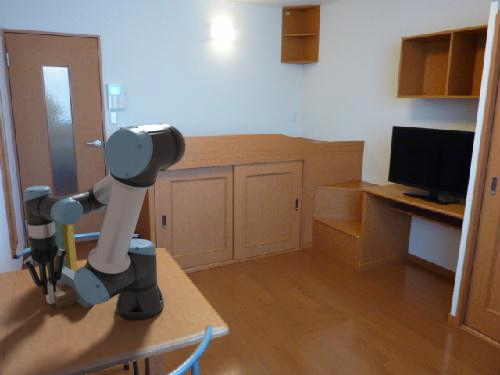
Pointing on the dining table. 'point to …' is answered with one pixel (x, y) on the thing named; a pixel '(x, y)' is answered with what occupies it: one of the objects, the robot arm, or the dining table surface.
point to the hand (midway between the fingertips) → (50, 302)
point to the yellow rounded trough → (66, 245)
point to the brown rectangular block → (64, 296)
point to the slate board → (72, 285)
